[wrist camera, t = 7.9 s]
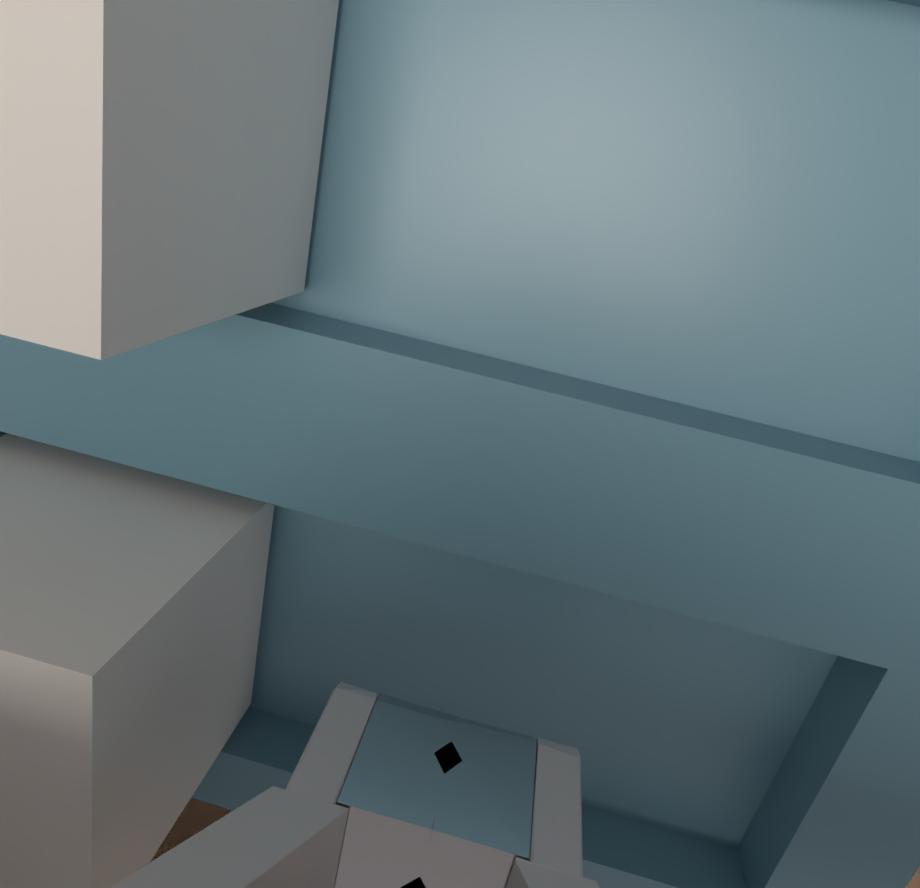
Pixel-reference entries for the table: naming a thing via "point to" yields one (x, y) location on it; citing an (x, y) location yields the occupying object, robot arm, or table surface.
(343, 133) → the switch bank
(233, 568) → the tab
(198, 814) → the table surface
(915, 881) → the table surface
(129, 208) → the tab
